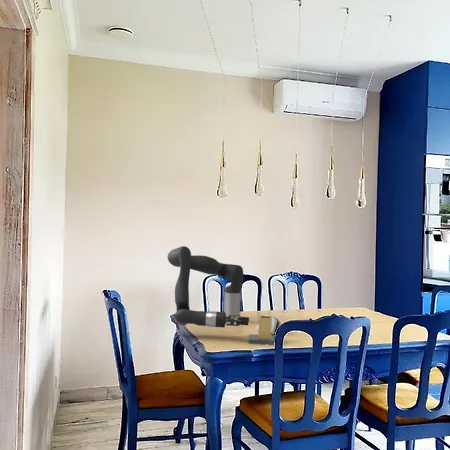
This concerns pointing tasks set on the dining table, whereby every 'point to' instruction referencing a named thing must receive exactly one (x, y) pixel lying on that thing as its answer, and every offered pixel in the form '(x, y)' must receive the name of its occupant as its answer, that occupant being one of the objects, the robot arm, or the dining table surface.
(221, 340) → the dining table surface
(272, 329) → the hinge
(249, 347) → the dining table surface
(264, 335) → the tan rectangular block
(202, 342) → the dining table surface
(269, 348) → the dining table surface
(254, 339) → the shaft stand
